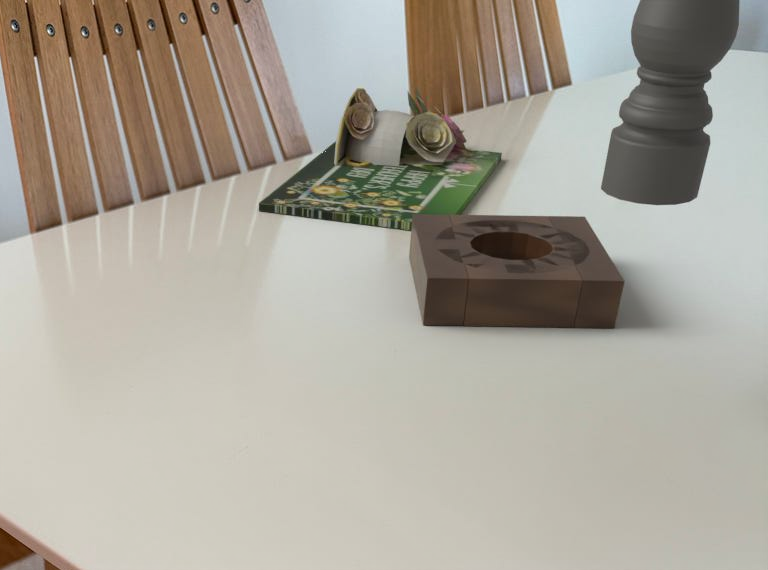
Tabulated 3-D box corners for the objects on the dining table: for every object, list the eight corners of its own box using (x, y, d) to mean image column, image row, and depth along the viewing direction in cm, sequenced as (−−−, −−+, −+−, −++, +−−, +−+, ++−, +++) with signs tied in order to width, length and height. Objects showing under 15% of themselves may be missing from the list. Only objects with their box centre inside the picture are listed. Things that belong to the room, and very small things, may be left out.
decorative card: (355, 66, 128) (517, 81, 123) (352, 134, 133) (507, 150, 128) (258, 131, 105) (453, 152, 99) (258, 210, 109) (445, 234, 104)
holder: (576, 259, 99) (584, 216, 97) (614, 328, 87) (624, 281, 84) (408, 257, 99) (412, 213, 97) (422, 325, 87) (427, 278, 85)
